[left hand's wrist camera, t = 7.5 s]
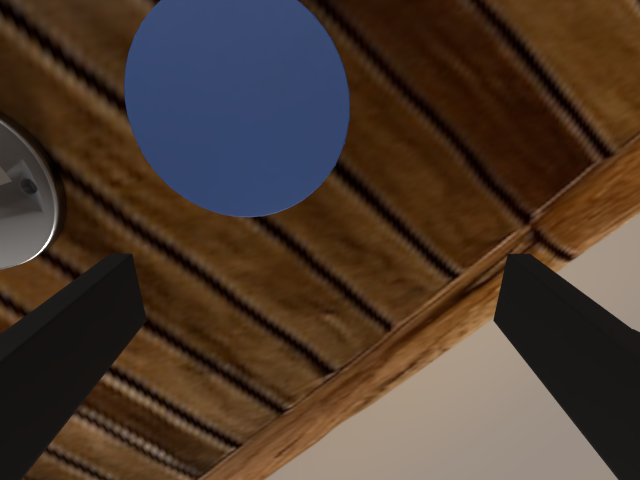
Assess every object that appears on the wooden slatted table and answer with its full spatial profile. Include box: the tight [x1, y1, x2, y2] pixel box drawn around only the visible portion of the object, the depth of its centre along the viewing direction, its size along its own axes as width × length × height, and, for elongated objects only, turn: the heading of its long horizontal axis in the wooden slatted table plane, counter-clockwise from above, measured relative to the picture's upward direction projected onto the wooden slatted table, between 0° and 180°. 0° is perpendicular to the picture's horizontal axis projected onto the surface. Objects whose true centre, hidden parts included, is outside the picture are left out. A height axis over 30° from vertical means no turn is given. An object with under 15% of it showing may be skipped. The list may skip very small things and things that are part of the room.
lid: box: [124, 0, 351, 217], centre depth 16 cm, size 10×10×2 cm
